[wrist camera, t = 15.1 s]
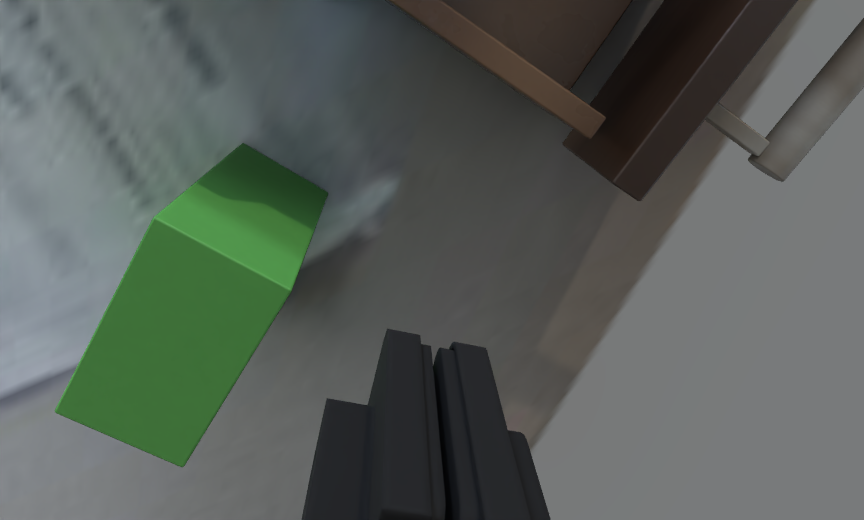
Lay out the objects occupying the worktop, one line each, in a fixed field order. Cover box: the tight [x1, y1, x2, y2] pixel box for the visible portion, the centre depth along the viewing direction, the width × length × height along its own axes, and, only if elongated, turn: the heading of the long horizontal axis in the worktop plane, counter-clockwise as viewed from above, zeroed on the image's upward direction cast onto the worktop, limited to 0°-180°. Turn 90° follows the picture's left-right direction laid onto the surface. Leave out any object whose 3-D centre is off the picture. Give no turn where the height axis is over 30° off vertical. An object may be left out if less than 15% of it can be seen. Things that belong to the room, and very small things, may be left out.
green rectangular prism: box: [55, 143, 328, 467], centre depth 22 cm, size 4×7×10 cm, turn 147°
